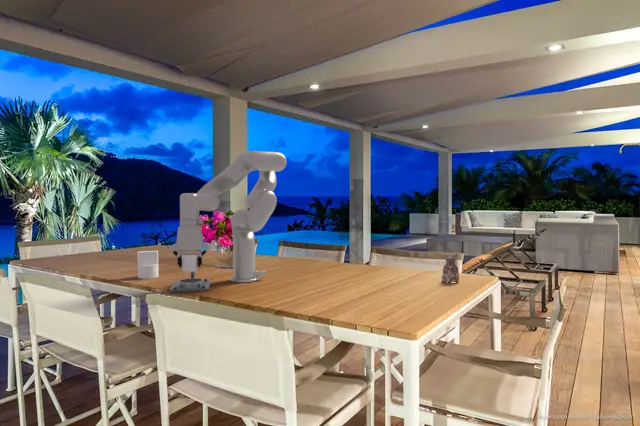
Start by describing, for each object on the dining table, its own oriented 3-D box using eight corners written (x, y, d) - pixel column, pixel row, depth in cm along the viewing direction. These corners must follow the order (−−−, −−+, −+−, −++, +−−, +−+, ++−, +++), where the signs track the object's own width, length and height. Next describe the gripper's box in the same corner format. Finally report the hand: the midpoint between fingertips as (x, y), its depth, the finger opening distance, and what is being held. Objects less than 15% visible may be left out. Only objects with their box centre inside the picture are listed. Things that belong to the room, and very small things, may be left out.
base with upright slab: (158, 274, 214) (158, 249, 213) (158, 278, 205) (157, 252, 205) (138, 275, 211) (138, 250, 211) (137, 279, 203) (136, 253, 202)
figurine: (440, 282, 193) (440, 254, 192) (443, 279, 199) (444, 252, 198) (457, 283, 189) (457, 255, 189) (460, 281, 196) (460, 253, 195)
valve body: (211, 281, 196) (210, 261, 196) (208, 290, 178) (208, 268, 177) (175, 283, 194) (175, 262, 193) (169, 292, 175) (168, 270, 175)
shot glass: (193, 272, 179) (193, 255, 179) (177, 271, 181) (177, 254, 180) (201, 269, 186) (201, 253, 186) (186, 269, 187) (186, 252, 187)
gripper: (212, 222, 188) (212, 264, 189) (168, 222, 185) (169, 265, 185) (210, 223, 181) (211, 267, 181) (166, 224, 177) (166, 268, 178)
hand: (189, 266), depth 183 cm, fingers closed on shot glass, 6 cm apart
